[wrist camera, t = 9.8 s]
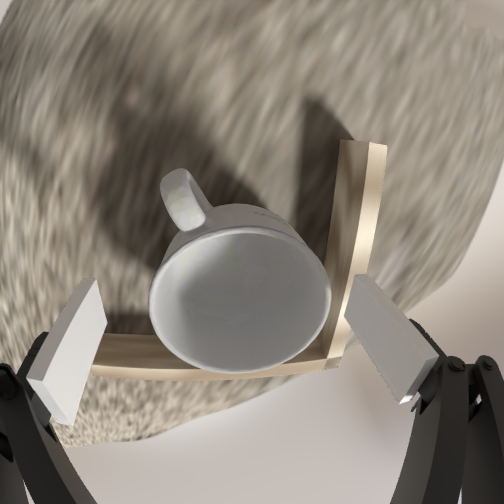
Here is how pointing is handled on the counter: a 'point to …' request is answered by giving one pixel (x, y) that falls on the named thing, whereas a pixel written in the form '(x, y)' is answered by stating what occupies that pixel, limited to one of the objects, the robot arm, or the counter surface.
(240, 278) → the teacup
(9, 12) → the counter surface
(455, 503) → the robot arm
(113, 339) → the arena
